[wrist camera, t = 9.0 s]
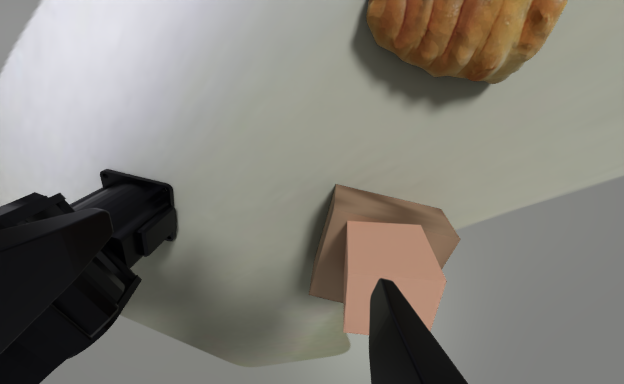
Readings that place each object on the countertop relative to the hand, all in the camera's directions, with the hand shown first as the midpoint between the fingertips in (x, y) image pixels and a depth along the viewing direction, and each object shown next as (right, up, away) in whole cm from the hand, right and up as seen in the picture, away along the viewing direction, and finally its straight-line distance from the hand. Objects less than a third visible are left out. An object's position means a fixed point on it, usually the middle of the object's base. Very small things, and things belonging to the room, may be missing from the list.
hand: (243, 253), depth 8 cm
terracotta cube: (+7, -2, +10) cm, 13 cm away
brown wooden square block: (+8, -2, +15) cm, 17 cm away
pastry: (+11, +13, +7) cm, 18 cm away
